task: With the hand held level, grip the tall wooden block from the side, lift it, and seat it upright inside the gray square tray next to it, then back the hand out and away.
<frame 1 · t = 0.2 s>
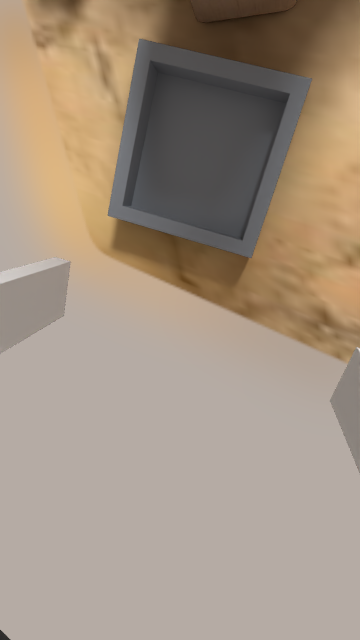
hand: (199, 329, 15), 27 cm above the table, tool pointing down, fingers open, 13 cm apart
gray square tray: (203, 160, 38), on the table
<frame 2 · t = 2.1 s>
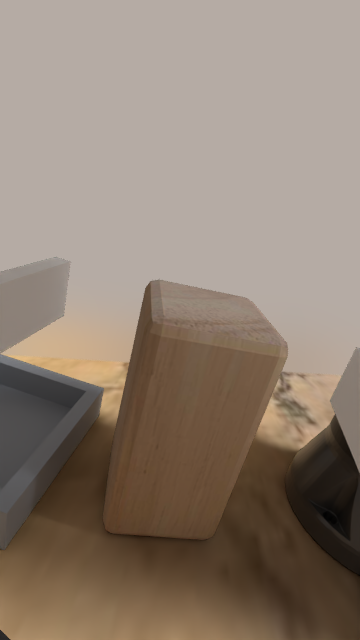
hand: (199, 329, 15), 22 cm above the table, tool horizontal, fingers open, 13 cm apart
wooden block: (156, 492, 33), on the table
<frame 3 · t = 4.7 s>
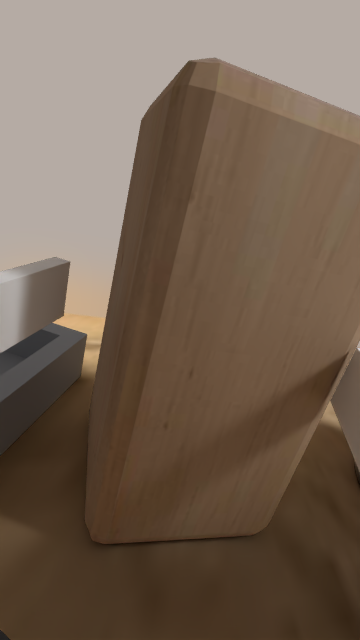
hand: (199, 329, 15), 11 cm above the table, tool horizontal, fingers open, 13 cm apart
wooden block: (164, 471, 21), on the table, touching gripper
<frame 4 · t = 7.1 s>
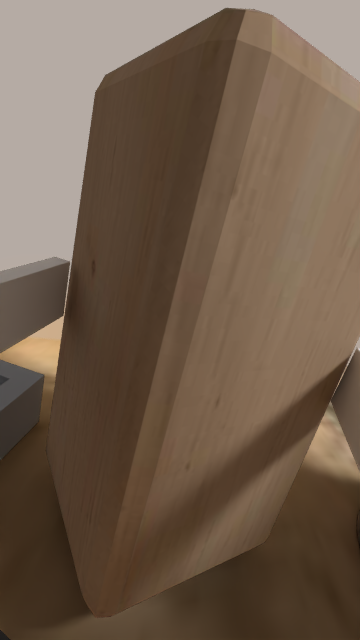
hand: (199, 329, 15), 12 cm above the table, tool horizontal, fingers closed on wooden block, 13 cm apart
wooden block: (148, 500, 19), point 1 cm above the table, touching gripper
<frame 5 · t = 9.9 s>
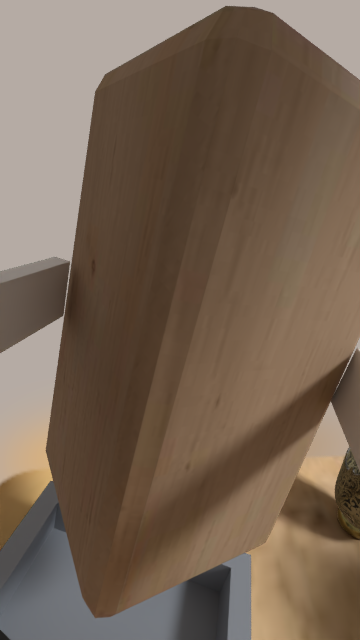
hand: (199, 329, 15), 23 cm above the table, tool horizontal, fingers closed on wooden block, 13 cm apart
wooden block: (148, 500, 19), point 12 cm above the table, touching gripper
cup: (351, 527, 36), on the table
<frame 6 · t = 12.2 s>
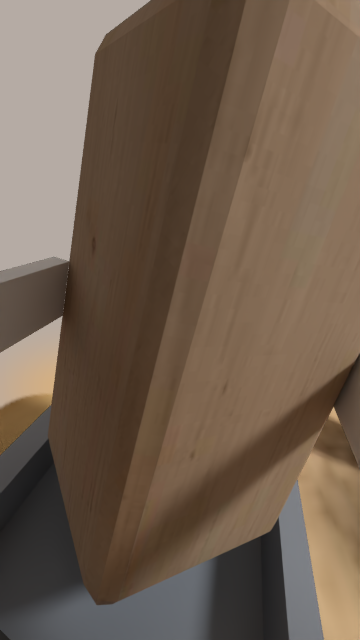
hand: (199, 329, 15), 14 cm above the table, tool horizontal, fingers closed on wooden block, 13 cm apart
wooden block: (152, 487, 19), point 4 cm above the table, touching gray square tray, gripper
gray square tray: (123, 592, 17), on the table
when the fingers open (14 cm above the table, at t = 14.1 s): wooden block drops 3 cm, resting on gray square tray.
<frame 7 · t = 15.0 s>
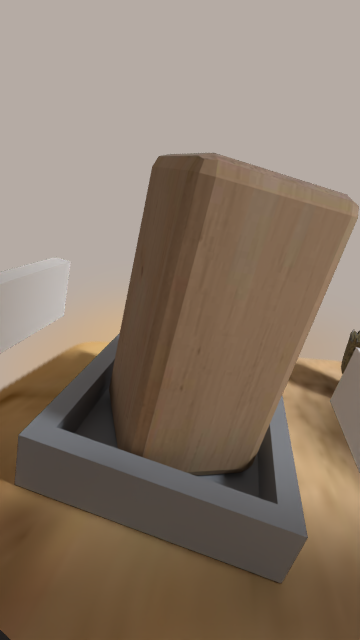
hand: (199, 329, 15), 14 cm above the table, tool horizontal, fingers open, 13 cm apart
wooden block: (172, 432, 27), point 1 cm above the table, touching gray square tray
gray square tray: (172, 439, 28), on the table
cup: (354, 397, 44), on the table
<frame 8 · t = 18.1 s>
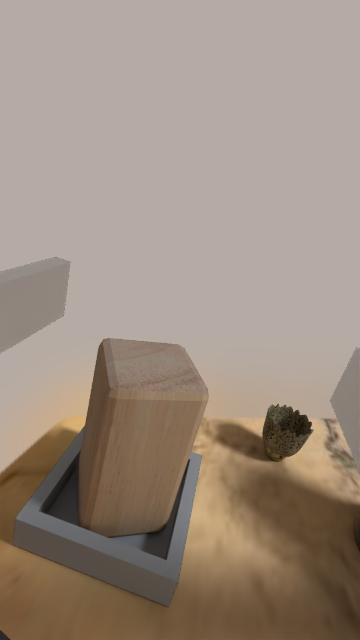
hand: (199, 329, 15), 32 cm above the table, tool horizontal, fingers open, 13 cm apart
wooden block: (118, 501, 41), point 1 cm above the table, touching gray square tray
gray square tray: (119, 504, 41), on the table
cup: (273, 455, 57), on the table
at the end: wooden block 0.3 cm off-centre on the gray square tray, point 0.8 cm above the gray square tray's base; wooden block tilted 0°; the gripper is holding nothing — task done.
